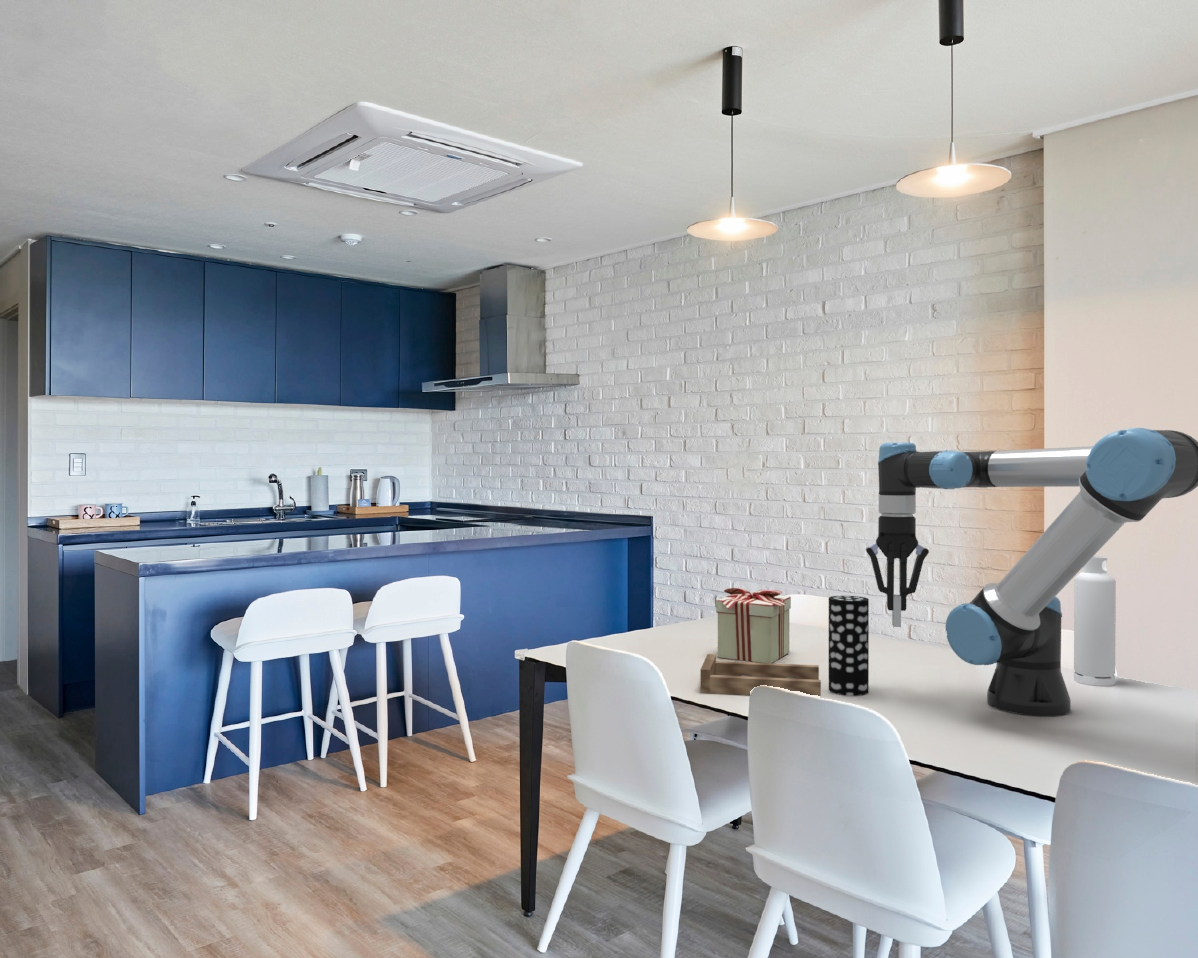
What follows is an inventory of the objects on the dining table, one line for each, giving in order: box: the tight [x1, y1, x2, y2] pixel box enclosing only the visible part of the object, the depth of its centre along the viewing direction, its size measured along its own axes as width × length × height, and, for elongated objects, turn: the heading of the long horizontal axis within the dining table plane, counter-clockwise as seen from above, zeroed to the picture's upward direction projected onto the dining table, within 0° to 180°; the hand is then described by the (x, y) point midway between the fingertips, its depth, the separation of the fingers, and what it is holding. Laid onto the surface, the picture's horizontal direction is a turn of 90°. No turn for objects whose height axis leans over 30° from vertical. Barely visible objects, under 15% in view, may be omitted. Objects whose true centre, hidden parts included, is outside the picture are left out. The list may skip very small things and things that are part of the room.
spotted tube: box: [828, 595, 870, 697], centre depth 191 cm, size 8×8×20 cm
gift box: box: [715, 587, 792, 663], centre depth 226 cm, size 17×18×17 cm
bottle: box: [1073, 555, 1117, 687], centre depth 199 cm, size 8×8×28 cm
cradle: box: [699, 653, 822, 697], centre depth 195 cm, size 25×16×5 cm, turn 78°
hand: (896, 625), depth 189 cm, fingers closed
